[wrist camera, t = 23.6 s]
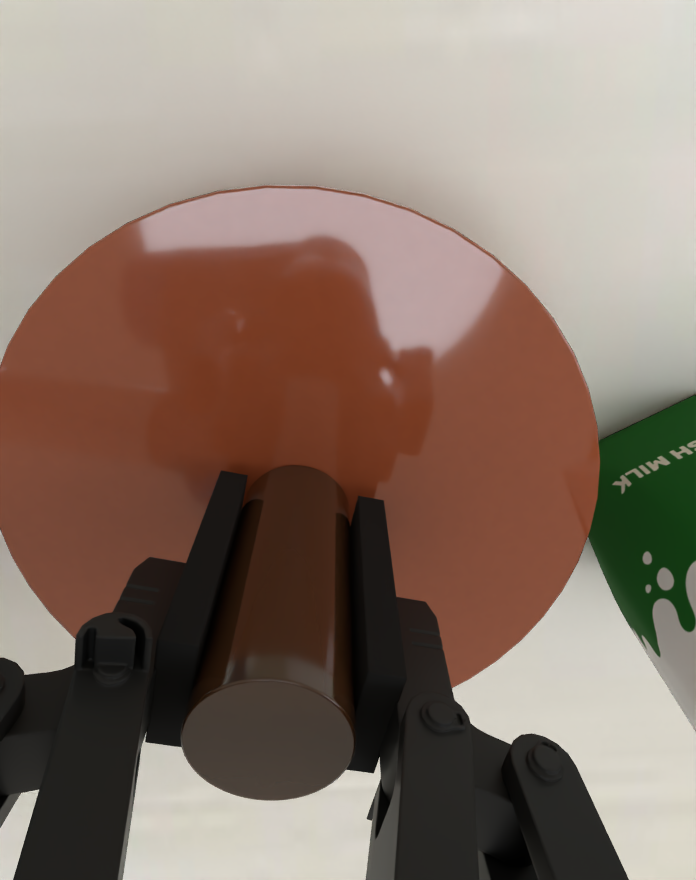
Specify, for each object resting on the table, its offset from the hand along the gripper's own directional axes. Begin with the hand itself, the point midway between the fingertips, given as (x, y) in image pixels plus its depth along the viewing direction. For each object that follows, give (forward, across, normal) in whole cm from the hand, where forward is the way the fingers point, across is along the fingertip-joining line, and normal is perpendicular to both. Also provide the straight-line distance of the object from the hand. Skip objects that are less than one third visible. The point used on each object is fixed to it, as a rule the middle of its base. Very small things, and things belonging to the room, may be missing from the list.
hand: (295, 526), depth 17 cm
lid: (+1, 0, 0) cm, 1 cm away
